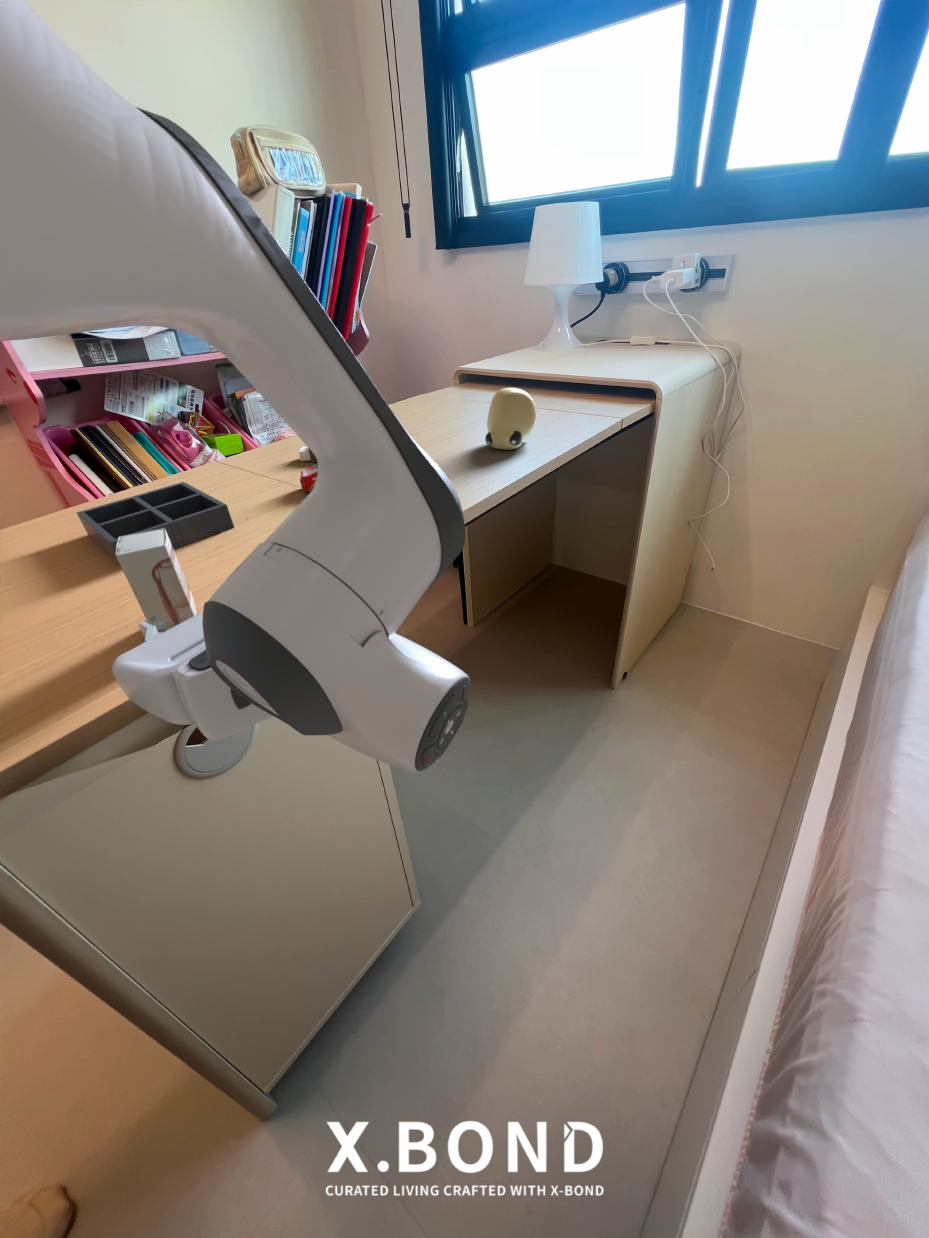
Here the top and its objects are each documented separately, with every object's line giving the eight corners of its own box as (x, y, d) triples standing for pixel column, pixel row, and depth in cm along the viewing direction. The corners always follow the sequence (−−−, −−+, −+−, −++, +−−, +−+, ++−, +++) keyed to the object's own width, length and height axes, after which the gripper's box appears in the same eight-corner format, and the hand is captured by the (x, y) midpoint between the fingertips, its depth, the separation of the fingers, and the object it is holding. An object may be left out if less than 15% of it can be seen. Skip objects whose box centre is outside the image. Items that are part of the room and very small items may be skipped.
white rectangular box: (202, 631, 53) (165, 545, 47) (156, 643, 52) (112, 557, 46) (200, 607, 57) (165, 525, 51) (157, 618, 56) (116, 535, 50)
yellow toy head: (488, 459, 106) (470, 435, 96) (500, 406, 107) (484, 376, 97) (532, 462, 102) (519, 437, 92) (545, 406, 103) (533, 376, 93)
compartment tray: (122, 567, 66) (110, 542, 64) (88, 535, 75) (76, 512, 73) (234, 527, 75) (226, 504, 73) (191, 502, 84) (183, 481, 81)
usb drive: (362, 459, 98) (360, 445, 97) (300, 464, 98) (296, 449, 96) (364, 451, 102) (362, 437, 101) (304, 455, 102) (301, 441, 100)
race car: (376, 474, 91) (373, 452, 89) (381, 484, 87) (378, 461, 84) (301, 485, 88) (296, 462, 86) (303, 496, 84) (298, 472, 81)
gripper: (374, 561, 46) (277, 529, 53) (160, 694, 33) (66, 628, 40) (383, 617, 50) (291, 581, 57) (194, 757, 37) (102, 687, 43)
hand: (197, 601), depth 48 cm, fingers open, 8 cm apart
